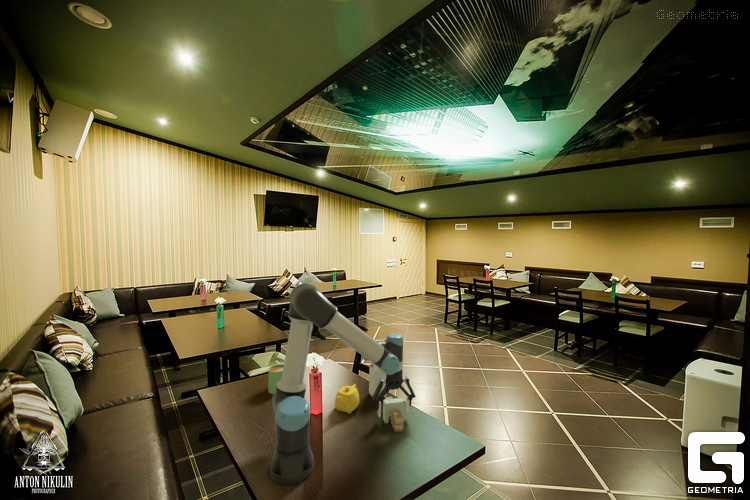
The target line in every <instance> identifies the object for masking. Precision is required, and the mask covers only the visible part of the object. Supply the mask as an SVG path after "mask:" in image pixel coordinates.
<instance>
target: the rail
mask: <svg viewBox="0 0 750 500" xmlns="http://www.w3.org/2000/svg"><path fill="white" fill-rule="evenodd" d="M386 399H394V398H393V396H388V397H387V396H386V397H384V400H386ZM389 422H390V424H391V426H392V428H393V431H394V432H395V433H402V432H404V421H403V416H402V414H401V413H400V411H399V410H395V411H392V416H389Z"/></svg>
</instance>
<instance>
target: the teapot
mask: <svg viewBox="0 0 750 500" xmlns="http://www.w3.org/2000/svg"><path fill="white" fill-rule="evenodd" d="M359 404H360V394H359V391H358V388H357V385H356V384H352V385H344V386H342V387H341V388H340V389H339V390H338V391H337V393H336V396H335V400H334V407H335V410H337V411H338V412H343V413H347V415H348V414H349V415H350V414H352V412H353V411H355V410H356V409H357V408H358V406H359Z"/></svg>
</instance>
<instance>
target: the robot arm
mask: <svg viewBox="0 0 750 500" xmlns="http://www.w3.org/2000/svg"><path fill="white" fill-rule="evenodd" d="M288 299H289V303H290V304H289V309H288V315H287V316H288V318H289V320H290V327H289V333H288V339H287V344H286V352H285V356H284V362H283V364H284V367H283V373H282V379H281V380H280V381H279V382H278V383H277V386H276V390H275V392H274V394H272V399H271V405H272V409H273V417H274V423H275V450H274V453H273V456H272V459H271V462H270V466H269V467H270V469H269V470H270V471H269V472H270V473H269V475H270V477H271V479H272V480H273V481H274V482H275V483H276V484H280V485H284V484H285V485H287V486H288V485H289V486H290V485H294V484H298V483H301V482H302V481H304V480H305V479H307V478H308V477H309V476H310V475H311V474H312V472H313V471H314V468H315V459H314V458H315V457H314V454H313V452H312V449H311V445H310V417H311V408H310V404H309V402H308V400H307V399H306V398H305V395H306V388H307V384H306V382H305V381H304V379H305V373H306V372H305V371H306V367H307V366H306V365H307V360H308V354H309V348H310V342H311V336H312V331H313V330H312V329H313V325H315V326H316V327H318V328H319V329H320V330H323V329H326V331H328V332H330V334H333V335H334V336H335V337H337V338H338V339H340V340H341V342H343V343H345V344H346V345H348V346H349V347H350V348H351V349H353V350H354V351H356V353H359V354H360V356H361V358H362V360H364V361H365V362H367V361H369V362H371V364H372V363H374V364H375V365H376V366H378V367H379V368H380V369H381V370H382V371H383V372H385V373H386V380H382V379H379V384H378V386H377V388H376V390H375V392H374V394H373V397H372V396H371V400H372V402H373V403H375V408H376V410H377V416H378V418H381V416H382V414H381V413H382V403H381V401H382V400H383V398H385V397H384V396H385V394H386V393H387V394H388V392H389V391H390V390H391V391H392V390H398V389H400V390H401V392H403V394H404V395H405V396H406V397H405V412H406V414H407V415H409V414H410V407H411V406H412V401H413V399H415V398H416V394H415V391H414V390H413V388H412V386H411V384H410V379H409V378H408V376H405V377H403V371H404V370H403V366H404V363H403V361H404V359H403V358H404V357H403V356H404V338H403V335H401V334H399V333H390V334H387V335H386V339H384V340H375V339H374V338H373V337H371V336H370V335H369V334H368V333H366V332H365V331H364V330H362V329H361V328H360V327H358V326H357V325H356V324H355V323H353V322H352V321H350V320H349V318H346V317H345V316H344V315H343V314H341V312H339V311H338V308H337V306H336V305H334V304H333V303H332V302H331V301H330V300H329V299H328V298H327V297H326V296H325V295H324V293H322V291H321V290H319V288H317V287H316V286H315V285H313V284H310V283H300V284H297V285H296V286H295V287H293V289H292V290H291V292H290V294H289V298H288ZM384 383H386V385H385V387H384V389H383V390H382V391H381V389H382V386H383V385H384ZM403 383H405V384H406V387H407V388H408V390H409V392H408V391H407V390H406V388H405V387H404V386H403ZM380 391H381V393H380ZM379 393H380V394H379ZM307 476H308V477H307ZM306 477H307V478H306Z"/></svg>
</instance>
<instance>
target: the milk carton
mask: <svg viewBox="0 0 750 500" xmlns="http://www.w3.org/2000/svg"><path fill="white" fill-rule="evenodd" d="M368 367H369V368H368V369H369V371H368V372H369V373H368V374H369V375H368V376H369V377H368V393H369V395H370V396H371V398H372V397H373V394H374V392H375V390H376V388H377V386H378V384H379V379H382V380H386V373H385V372H383V371H382V370H381V369H380V368H379V367H378V366H376V365H375V364H374V363H372V362H371V363H370V365H368ZM385 385H386V383H384V385H383V386H382V389H381V391H382V390H383V389H384V387H385ZM381 391H380V393H381ZM380 393H379V394H380ZM387 394H388V392H387V393H386V394H385V396H384V397H383V398H385V397H387Z"/></svg>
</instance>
